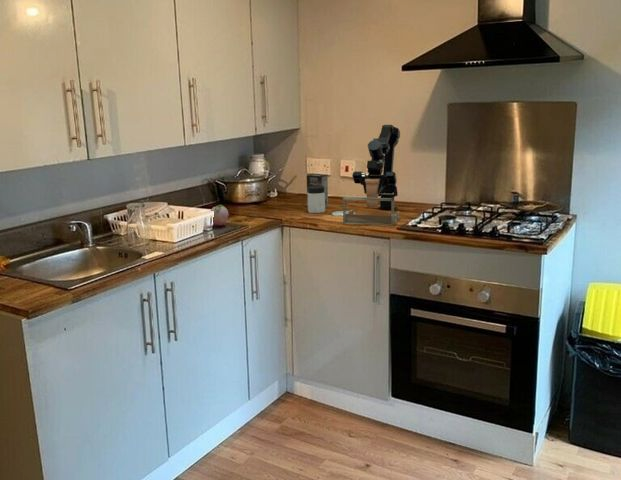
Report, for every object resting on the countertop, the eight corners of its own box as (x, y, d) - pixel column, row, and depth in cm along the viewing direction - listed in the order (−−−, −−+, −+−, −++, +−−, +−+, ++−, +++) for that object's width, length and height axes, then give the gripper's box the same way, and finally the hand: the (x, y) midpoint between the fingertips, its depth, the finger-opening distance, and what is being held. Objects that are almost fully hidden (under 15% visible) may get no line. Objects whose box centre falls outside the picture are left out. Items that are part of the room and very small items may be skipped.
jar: (313, 214, 301) (312, 188, 298) (304, 211, 307) (303, 187, 304) (329, 211, 305) (328, 186, 303) (319, 209, 312) (318, 185, 309)
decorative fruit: (210, 224, 283) (209, 202, 281) (229, 223, 284) (228, 201, 282) (209, 228, 274) (207, 206, 272) (228, 228, 275) (227, 205, 273)
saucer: (344, 211, 305) (344, 210, 305) (360, 214, 297) (360, 212, 296) (327, 214, 298) (326, 213, 298) (342, 217, 290) (342, 216, 290)
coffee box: (306, 207, 319) (305, 175, 316) (313, 205, 324) (312, 173, 321) (322, 208, 314) (321, 176, 311) (328, 206, 320) (328, 174, 316)
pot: (372, 204, 282) (372, 177, 279) (382, 206, 277) (382, 178, 274) (362, 206, 278) (361, 179, 275) (372, 208, 273) (372, 180, 271)
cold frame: (352, 217, 289) (351, 191, 286) (400, 219, 282) (400, 192, 280) (343, 224, 275) (342, 197, 272) (393, 226, 268) (393, 198, 265)
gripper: (353, 153, 279) (347, 181, 271) (395, 153, 273) (390, 182, 266) (357, 168, 288) (351, 197, 280) (398, 169, 282) (393, 198, 275)
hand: (371, 193), depth 275 cm, fingers closed on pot, 5 cm apart
